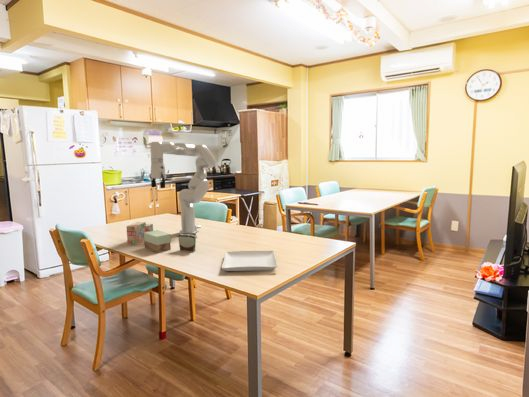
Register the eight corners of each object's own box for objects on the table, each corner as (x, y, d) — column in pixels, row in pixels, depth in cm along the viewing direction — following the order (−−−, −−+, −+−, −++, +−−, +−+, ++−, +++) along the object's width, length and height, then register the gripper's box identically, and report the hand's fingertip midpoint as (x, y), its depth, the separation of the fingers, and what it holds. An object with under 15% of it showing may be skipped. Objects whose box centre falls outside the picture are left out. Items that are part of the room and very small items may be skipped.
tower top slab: (157, 237, 212) (157, 230, 211) (170, 242, 201) (170, 233, 201) (144, 240, 205) (143, 232, 204) (157, 245, 195) (156, 236, 194)
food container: (201, 249, 202) (200, 233, 201) (196, 252, 197) (195, 235, 195) (183, 247, 206) (182, 231, 205) (177, 250, 201) (177, 233, 199)
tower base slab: (158, 245, 212) (157, 237, 212) (170, 250, 202) (170, 242, 201) (144, 248, 206) (144, 240, 205) (156, 253, 196) (156, 245, 195)
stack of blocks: (145, 236, 235) (144, 219, 233) (153, 236, 233) (152, 219, 232) (127, 244, 214) (126, 225, 212) (136, 245, 213) (135, 226, 211)
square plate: (274, 256, 189) (274, 249, 189) (277, 273, 162) (277, 265, 162) (225, 257, 188) (225, 250, 188) (221, 274, 161) (221, 266, 161)
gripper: (170, 161, 215) (171, 187, 218) (154, 160, 226) (155, 186, 228) (160, 161, 210) (161, 188, 212) (144, 161, 220) (145, 187, 222)
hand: (158, 187), depth 220 cm, fingers open, 9 cm apart
